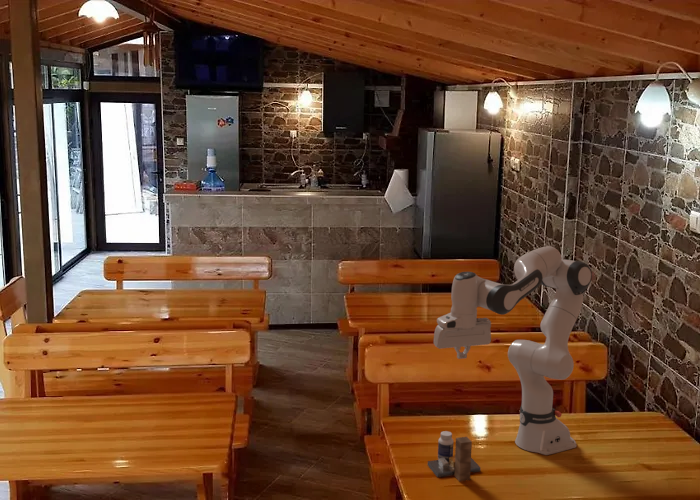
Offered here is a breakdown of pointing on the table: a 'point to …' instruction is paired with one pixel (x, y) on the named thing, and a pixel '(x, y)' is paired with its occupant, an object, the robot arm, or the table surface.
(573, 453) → the table surface
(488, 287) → the robot arm
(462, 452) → the walnut post
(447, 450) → the pill bottle
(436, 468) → the breaker strip
